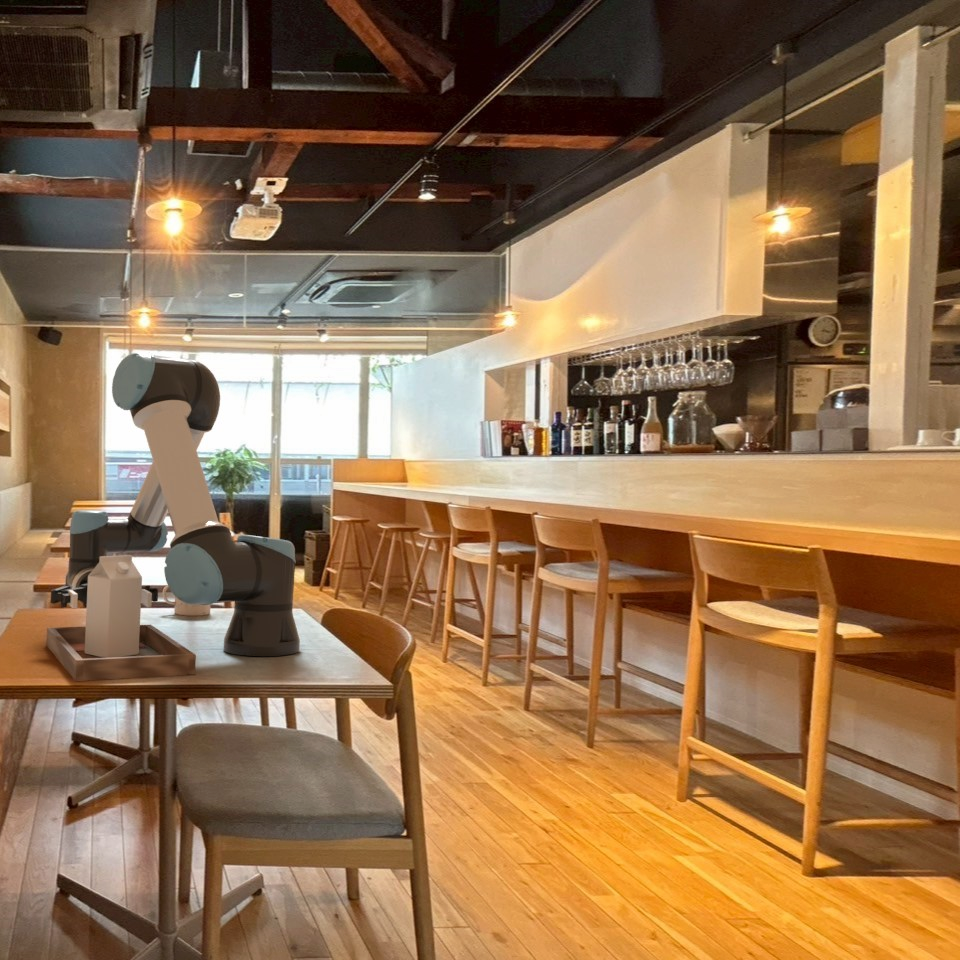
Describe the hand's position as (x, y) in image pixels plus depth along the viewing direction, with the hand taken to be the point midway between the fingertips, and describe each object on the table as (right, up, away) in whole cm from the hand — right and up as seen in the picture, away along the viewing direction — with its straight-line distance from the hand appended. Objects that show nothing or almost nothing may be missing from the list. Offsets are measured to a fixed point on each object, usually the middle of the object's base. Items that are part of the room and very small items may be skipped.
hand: (113, 600), depth 197 cm
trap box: (+2, -11, -4) cm, 11 cm away
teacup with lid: (-3, -10, +58) cm, 59 cm away
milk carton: (-1, -11, +1) cm, 11 cm away
